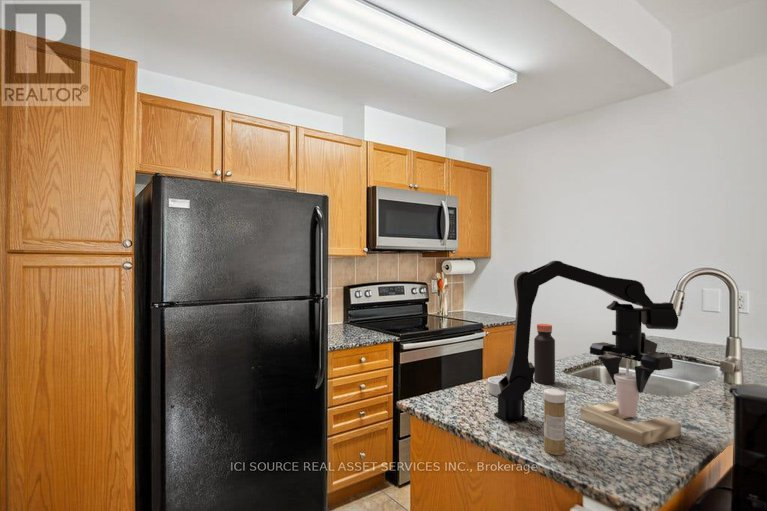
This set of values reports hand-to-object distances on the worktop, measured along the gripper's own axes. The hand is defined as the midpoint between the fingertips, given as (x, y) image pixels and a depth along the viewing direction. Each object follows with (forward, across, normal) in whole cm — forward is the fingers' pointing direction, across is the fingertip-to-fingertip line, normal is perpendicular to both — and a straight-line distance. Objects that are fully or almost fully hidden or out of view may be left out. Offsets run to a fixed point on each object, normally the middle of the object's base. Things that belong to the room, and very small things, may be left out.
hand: (628, 388), depth 104 cm
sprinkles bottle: (+10, -3, +28) cm, 30 cm away
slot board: (+10, 0, 0) cm, 10 cm away
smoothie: (+7, 0, 0) cm, 7 cm away
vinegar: (+10, +37, -9) cm, 40 cm away
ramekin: (+10, +33, +13) cm, 37 cm away
